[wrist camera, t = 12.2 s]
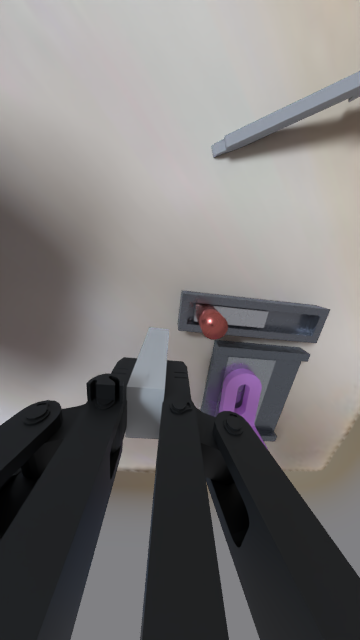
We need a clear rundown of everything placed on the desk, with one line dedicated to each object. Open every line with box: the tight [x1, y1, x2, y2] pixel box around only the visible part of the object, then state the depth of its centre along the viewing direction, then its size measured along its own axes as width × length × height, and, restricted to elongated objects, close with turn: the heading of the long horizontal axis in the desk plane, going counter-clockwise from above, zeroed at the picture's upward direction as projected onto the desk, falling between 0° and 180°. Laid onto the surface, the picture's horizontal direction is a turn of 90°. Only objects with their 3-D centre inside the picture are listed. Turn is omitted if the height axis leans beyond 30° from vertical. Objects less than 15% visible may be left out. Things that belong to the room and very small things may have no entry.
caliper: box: [211, 71, 360, 157], centre depth 15 cm, size 20×1×6 cm, turn 108°
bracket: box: [219, 369, 268, 450], centre depth 25 cm, size 13×6×7 cm, turn 176°
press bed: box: [201, 340, 310, 441], centre depth 28 cm, size 14×18×2 cm
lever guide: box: [178, 291, 330, 343], centre depth 24 cm, size 20×5×2 cm, turn 83°
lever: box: [193, 303, 268, 340], centre depth 21 cm, size 10×3×6 cm, turn 83°
